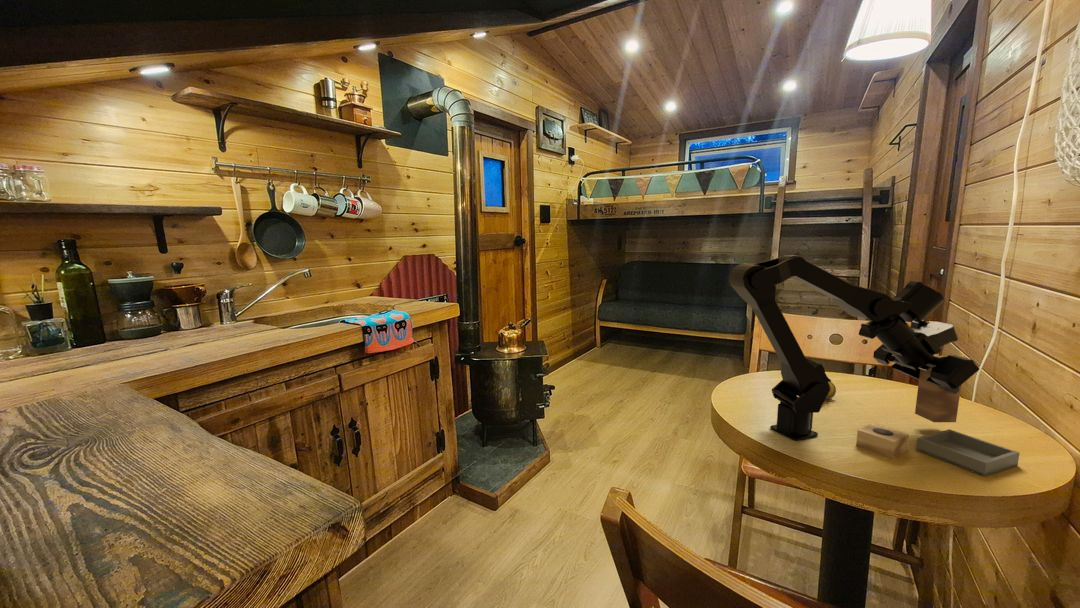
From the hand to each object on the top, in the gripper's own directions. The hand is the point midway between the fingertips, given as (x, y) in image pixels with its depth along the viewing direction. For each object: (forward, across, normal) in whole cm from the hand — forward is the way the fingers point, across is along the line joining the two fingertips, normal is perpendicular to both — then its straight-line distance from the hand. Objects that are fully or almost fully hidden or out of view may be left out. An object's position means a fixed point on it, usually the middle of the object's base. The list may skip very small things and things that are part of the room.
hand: (945, 387), depth 87 cm
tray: (+3, -11, +11) cm, 16 cm away
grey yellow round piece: (-2, +18, +16) cm, 24 cm away
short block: (-6, -7, +20) cm, 22 cm away
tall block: (+4, 0, +6) cm, 7 cm away
